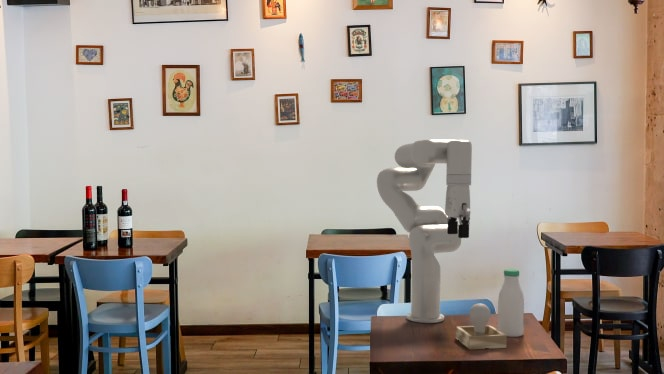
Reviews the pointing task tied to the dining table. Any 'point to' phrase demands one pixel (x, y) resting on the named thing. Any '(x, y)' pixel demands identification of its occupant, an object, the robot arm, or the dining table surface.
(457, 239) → the robot arm
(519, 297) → the milk bottle
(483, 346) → the holder
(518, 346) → the dining table surface
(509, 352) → the dining table surface
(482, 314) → the lightbulb
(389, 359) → the dining table surface
